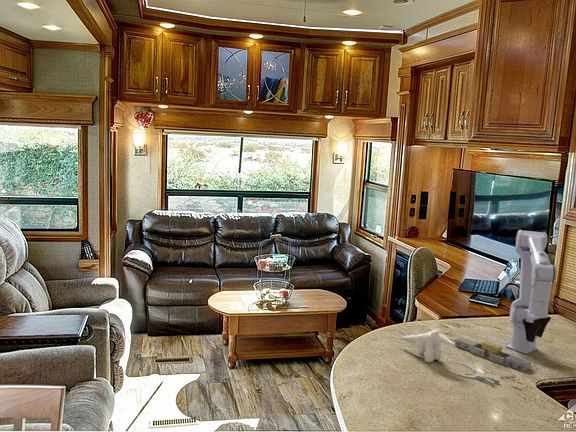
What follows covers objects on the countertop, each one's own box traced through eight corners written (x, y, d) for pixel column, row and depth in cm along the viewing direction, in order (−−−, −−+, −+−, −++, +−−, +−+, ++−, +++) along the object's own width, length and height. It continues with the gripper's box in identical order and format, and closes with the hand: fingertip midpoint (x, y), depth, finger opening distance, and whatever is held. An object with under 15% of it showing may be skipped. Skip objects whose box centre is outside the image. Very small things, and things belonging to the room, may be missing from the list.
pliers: (463, 360, 174) (505, 378, 163) (463, 364, 174) (504, 382, 163) (446, 366, 168) (488, 385, 156) (445, 371, 168) (487, 390, 157)
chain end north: (498, 355, 184) (498, 349, 184) (531, 368, 175) (532, 361, 175) (488, 359, 180) (489, 353, 179) (523, 372, 171) (524, 365, 170)
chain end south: (462, 342, 194) (463, 336, 194) (492, 353, 185) (493, 347, 185) (453, 346, 190) (453, 339, 190) (483, 357, 181) (484, 351, 181)
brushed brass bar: (484, 353, 186) (486, 341, 185) (500, 359, 181) (502, 346, 181) (480, 354, 184) (481, 342, 183) (496, 360, 179) (498, 348, 179)
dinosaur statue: (447, 370, 166) (448, 336, 165) (390, 351, 185) (391, 320, 185) (460, 366, 170) (461, 333, 169) (403, 347, 189) (404, 317, 189)
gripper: (534, 293, 181) (529, 330, 183) (519, 300, 170) (513, 339, 172) (556, 298, 176) (550, 337, 178) (541, 306, 166) (535, 346, 167)
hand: (534, 338), depth 175 cm, fingers open, 7 cm apart
